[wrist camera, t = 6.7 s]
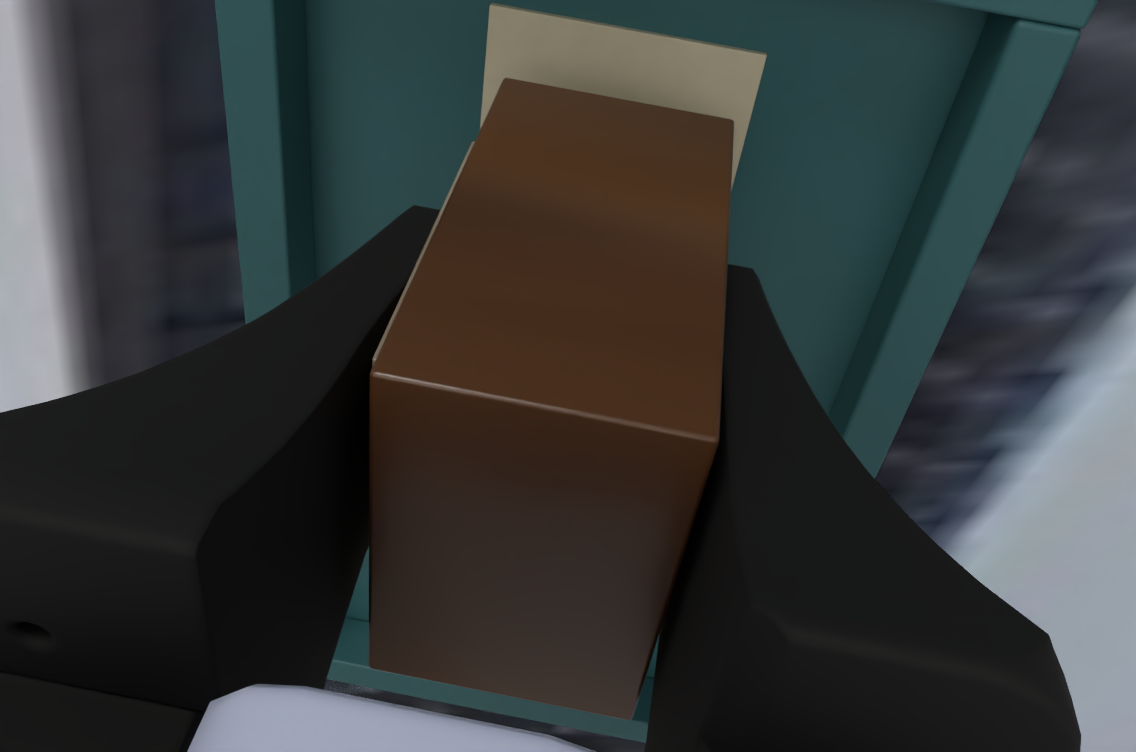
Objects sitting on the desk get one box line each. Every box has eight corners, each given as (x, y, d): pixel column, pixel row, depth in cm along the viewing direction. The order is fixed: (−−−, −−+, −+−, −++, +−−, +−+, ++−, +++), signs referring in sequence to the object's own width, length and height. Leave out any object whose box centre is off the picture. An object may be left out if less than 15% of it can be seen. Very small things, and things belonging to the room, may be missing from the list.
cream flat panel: (614, 631, 23) (614, 634, 23) (443, 596, 23) (442, 600, 23) (766, 52, 14) (767, 55, 14) (491, 1, 14) (490, 4, 14)
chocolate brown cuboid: (669, 377, 16) (633, 723, 12) (466, 339, 16) (348, 666, 12) (735, 118, 13) (720, 441, 9) (488, 72, 13) (343, 368, 9)
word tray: (745, 697, 24) (744, 763, 23) (303, 609, 25) (277, 669, 23) (1082, -84, 13) (1117, -39, 12) (248, -231, 13) (193, -203, 12)
